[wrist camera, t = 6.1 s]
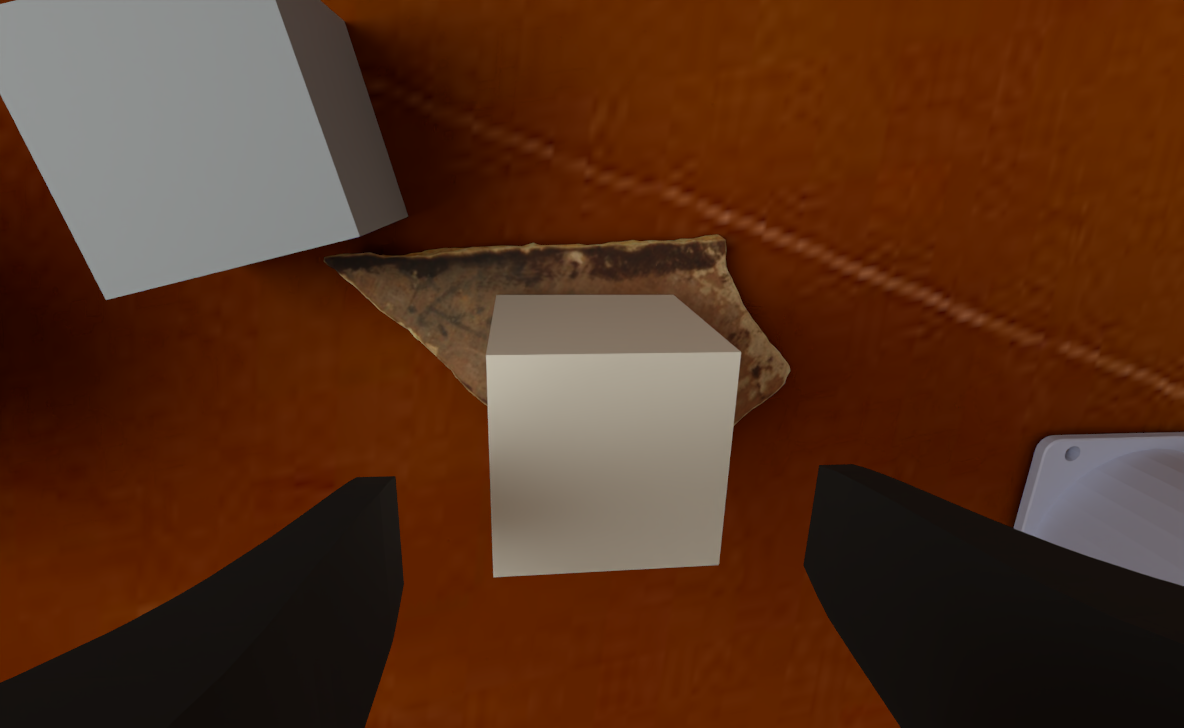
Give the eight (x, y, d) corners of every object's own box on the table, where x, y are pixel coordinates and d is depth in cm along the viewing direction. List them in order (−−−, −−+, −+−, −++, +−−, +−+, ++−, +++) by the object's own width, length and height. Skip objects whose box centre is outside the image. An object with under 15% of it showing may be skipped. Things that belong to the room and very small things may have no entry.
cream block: (673, 294, 15) (741, 352, 11) (662, 452, 17) (718, 564, 12) (496, 294, 15) (486, 355, 10) (500, 458, 16) (493, 577, 12)
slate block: (345, 22, 14) (256, -55, 9) (408, 216, 15) (359, 236, 11) (151, 67, 14) (-41, 13, 9) (234, 259, 15) (106, 299, 10)
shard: (338, 252, 16) (316, 261, 14) (545, 37, 15) (548, 20, 13) (611, 500, 19) (620, 532, 17) (796, 337, 18) (825, 354, 16)
